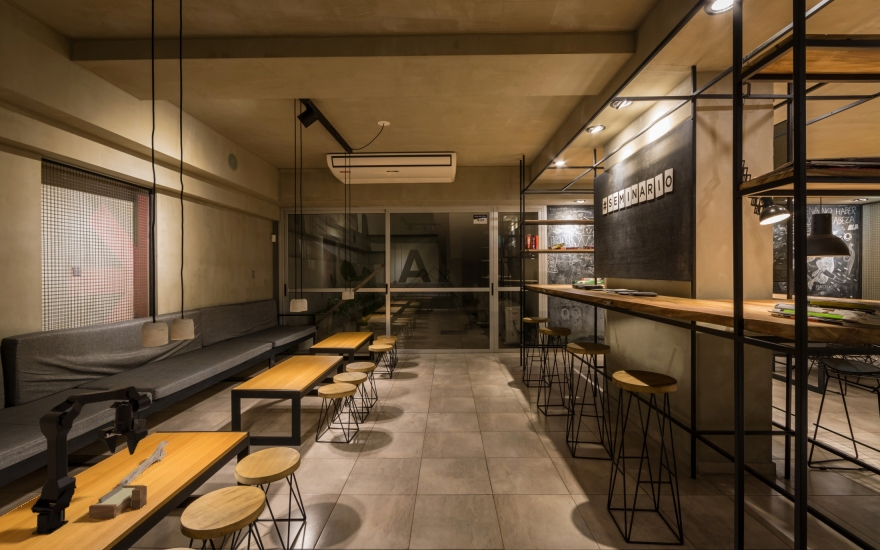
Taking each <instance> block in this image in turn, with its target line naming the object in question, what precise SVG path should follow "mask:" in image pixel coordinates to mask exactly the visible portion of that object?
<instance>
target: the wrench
mask: <svg viewBox="0 0 880 550" xmlns="http://www.w3.org/2000/svg"><path fill="white" fill-rule="evenodd" d="M169 444H170V443H169V441H167V440H163V441H160V442H159V443H158V445H157V447H156V448H155V450H154V451H153V453H152V454H151V455H150V456H149V457H148V458H146V459H145V460H144V461H143V462H142V463H140V464H139V465H138V466H137V467H135V468H134V469H133V470H132V471H131V472H130V473H129V474H127V475H126V476H124V478H122V479H120V481H119V484H118V486H122V485H130V484H131V482H133V481H134V480H135V479H136V478H137V477H138V476H139V475H141V474H142V473H143V472H144V471H145V470H146V469H147V468H148V467H150V466H151V465H152V464H154V462H156V461H157V463H159V462H161V461H163V458H164V457H165V456H166V455H167V453H168V451H167V450H166V451H164V449H165V446H166V445H169Z"/></svg>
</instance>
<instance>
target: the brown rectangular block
mask: <svg viewBox="0 0 880 550" xmlns="http://www.w3.org/2000/svg"><path fill="white" fill-rule="evenodd" d="M147 499H148V486H147V485H144V486H138V487H136V488H135V489H133V490H132V506H131V510H141V509H143V508H144V507H145V506H146V505H147V504H148V502H147V501H148V500H147ZM144 505H145V506H144ZM143 506H144V507H143ZM140 508H141V509H140Z"/></svg>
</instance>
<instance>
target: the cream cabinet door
mask: <svg viewBox="0 0 880 550" xmlns="http://www.w3.org/2000/svg"><path fill="white" fill-rule="evenodd" d="M133 489H135V488H122V486H119V485H118V486H117V487H115V488H114V489H112V490H111V491H109V492H107V493H105V494H104V495H103V496H100V497H99V498H98V501H97V502H96V503H94V504H93V505H109V504H117V506H119V505H120V504H121V503H123V502H124V501H126V500H127V499H129V498H130V497H131V496H132V490H133Z"/></svg>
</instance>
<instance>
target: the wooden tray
mask: <svg viewBox="0 0 880 550" xmlns="http://www.w3.org/2000/svg"><path fill="white" fill-rule="evenodd" d="M138 486H145V485H143V484H135V485H132V484H131V485H130V484H128V485H122V488H136V487H138ZM130 507H132V496H131V497H130V498H129V499H127V500H126V501H124V502H123V503H121V504H120V505H119V506H117V504H109V505H94V504H91V505H89V506H88V519H90V520H91V519H97V520H99V519H115V518H116V516H117V517H118V516H119V515H121V514H122V513H123V512H125V511H126V510H128V509H129V508H130ZM124 510H125V511H124ZM120 513H121V514H120Z"/></svg>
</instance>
